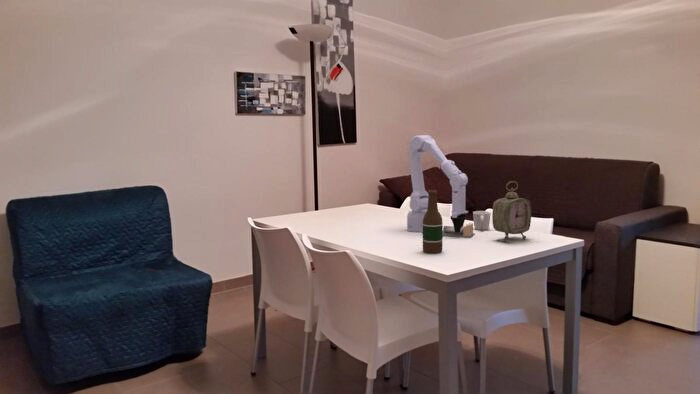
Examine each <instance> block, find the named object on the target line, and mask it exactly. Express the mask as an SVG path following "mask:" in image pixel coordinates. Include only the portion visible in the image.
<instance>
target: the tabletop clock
mask: <svg viewBox="0 0 700 394" xmlns="http://www.w3.org/2000/svg"><path fill="white" fill-rule="evenodd" d="M512 183H514V184H516V187H515V188H514V187H511V188H510V189H508V185H510V184H512ZM505 188H506V190H507V193H506V195H505V197H502V198H499V199H496V200H494V202H493V205H492V213H491V216H492V217H491V218H492V228H493V229H494V230H495V231H496V232H500V233H504V242H505V243H509V238H510V237H509V234H510V235H521V236H522V240H526V239H527V236H526V235H524V233H526V232H528V231H529V230H530V228H531V222H532V204H531V201H530V199H528V198H521V197H519V195H518V193H517V192H515V191H517V189H518V188H519V184H518V182H517V181H516V180H510V181H508V182H507V183H506V185H505Z"/></svg>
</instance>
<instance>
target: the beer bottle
mask: <svg viewBox="0 0 700 394" xmlns="http://www.w3.org/2000/svg"><path fill="white" fill-rule="evenodd" d="M427 193H428V209H427V212H426V214H425V215H424V218H423V232H422V252H423V253H425V254H431V255H432V254H433V255H435V254H441V253H442V252H443V236H442V231H443V227H444V225H443V218H442V215H441V213H440V212H439V208H438V191H437V189H429V190H428V191H427Z"/></svg>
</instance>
